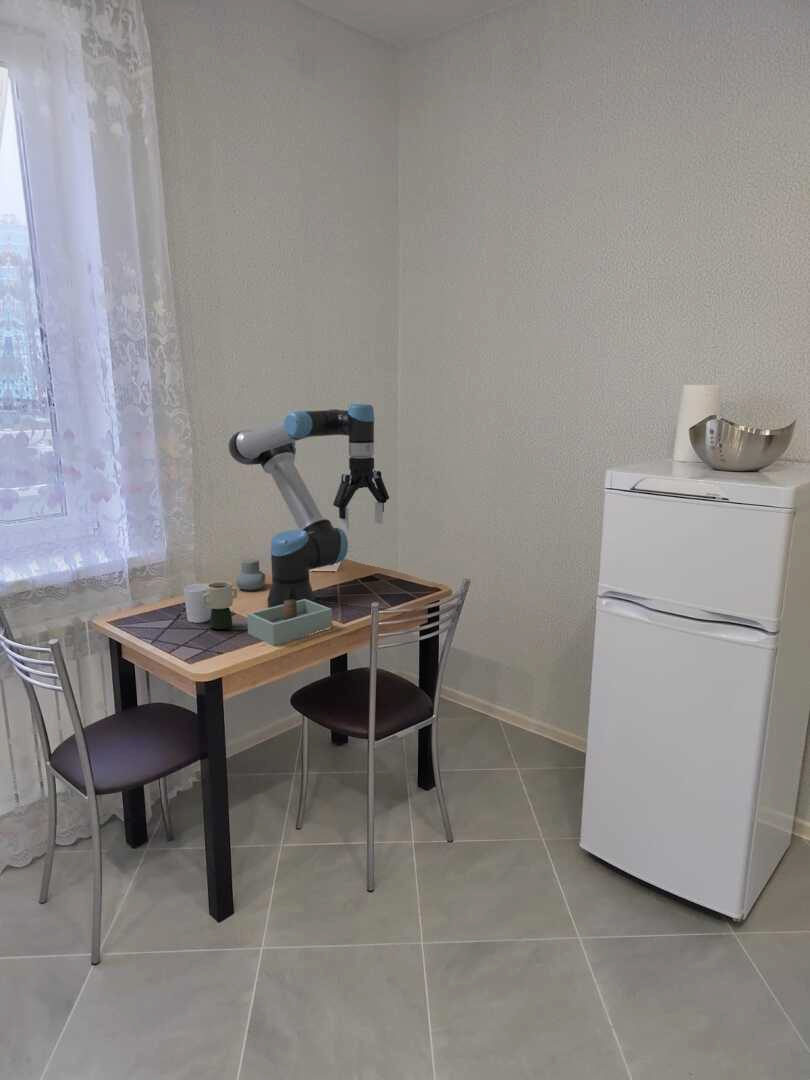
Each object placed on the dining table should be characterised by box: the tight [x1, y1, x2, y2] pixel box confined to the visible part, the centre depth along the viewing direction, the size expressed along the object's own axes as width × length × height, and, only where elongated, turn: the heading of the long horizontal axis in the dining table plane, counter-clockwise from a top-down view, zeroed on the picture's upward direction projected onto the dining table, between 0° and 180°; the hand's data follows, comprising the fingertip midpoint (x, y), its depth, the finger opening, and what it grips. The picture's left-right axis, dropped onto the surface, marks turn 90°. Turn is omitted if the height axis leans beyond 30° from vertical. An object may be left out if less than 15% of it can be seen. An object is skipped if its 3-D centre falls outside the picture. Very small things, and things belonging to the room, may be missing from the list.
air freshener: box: [235, 557, 266, 591], centre depth 244 cm, size 11×8×10 cm
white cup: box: [183, 583, 212, 624], centre depth 212 cm, size 8×8×10 cm
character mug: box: [202, 581, 238, 630], centre depth 205 cm, size 11×7×13 cm, turn 132°
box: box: [246, 599, 333, 647], centre depth 203 cm, size 20×13×6 cm, turn 134°
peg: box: [284, 599, 297, 620], centre depth 203 cm, size 4×4×9 cm
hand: (362, 526), depth 217 cm, fingers open, 13 cm apart
